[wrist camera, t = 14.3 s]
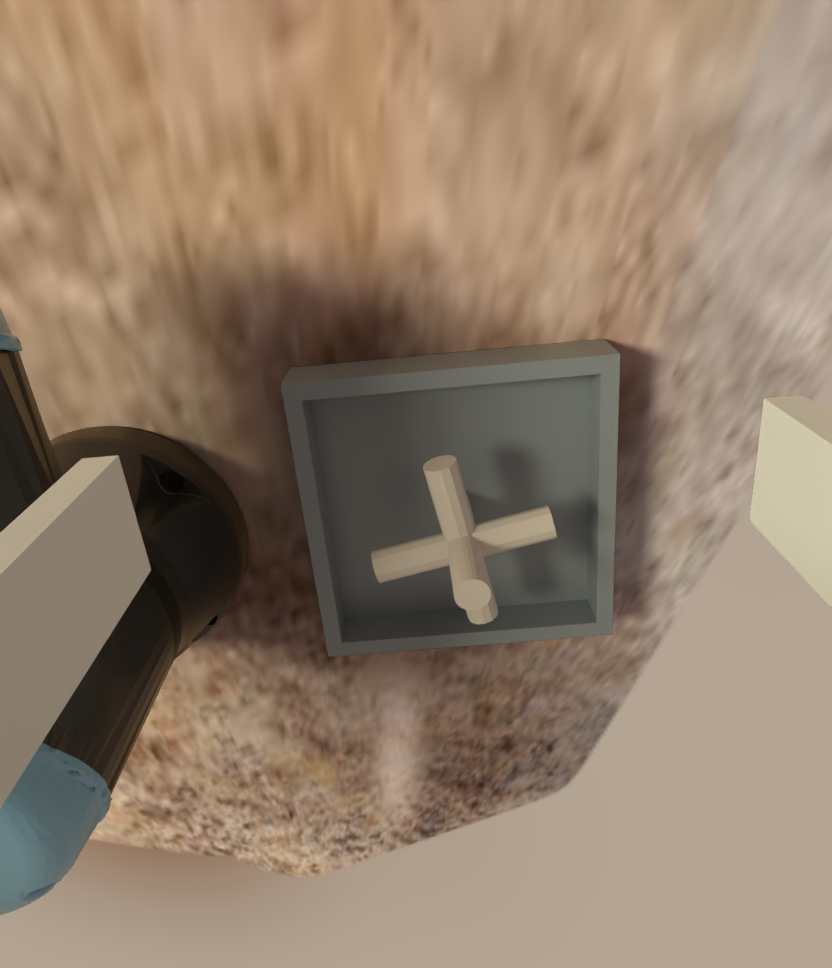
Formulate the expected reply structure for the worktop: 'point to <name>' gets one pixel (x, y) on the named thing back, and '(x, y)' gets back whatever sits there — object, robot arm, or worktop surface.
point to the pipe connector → (462, 542)
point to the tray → (487, 481)
